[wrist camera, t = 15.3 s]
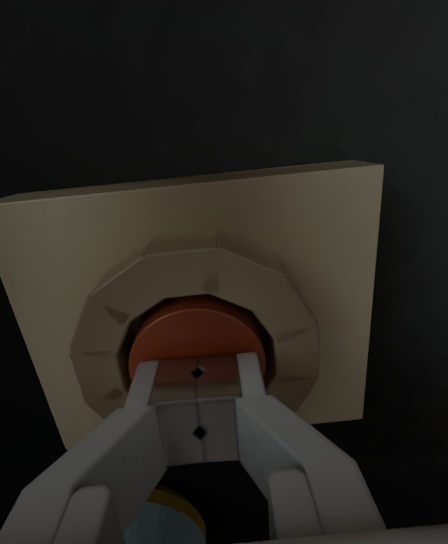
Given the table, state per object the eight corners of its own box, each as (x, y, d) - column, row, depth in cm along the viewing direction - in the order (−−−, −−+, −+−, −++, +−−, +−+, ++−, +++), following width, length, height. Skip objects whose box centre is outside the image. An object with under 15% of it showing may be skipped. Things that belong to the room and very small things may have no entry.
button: (152, 385, 11) (142, 428, 9) (130, 287, 9) (114, 317, 8) (260, 374, 11) (269, 415, 9) (253, 274, 10) (262, 301, 8)
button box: (86, 405, 14) (42, 500, 10) (17, 193, 11) (-85, 221, 7) (340, 379, 14) (387, 464, 10) (351, 159, 11) (427, 169, 7)
